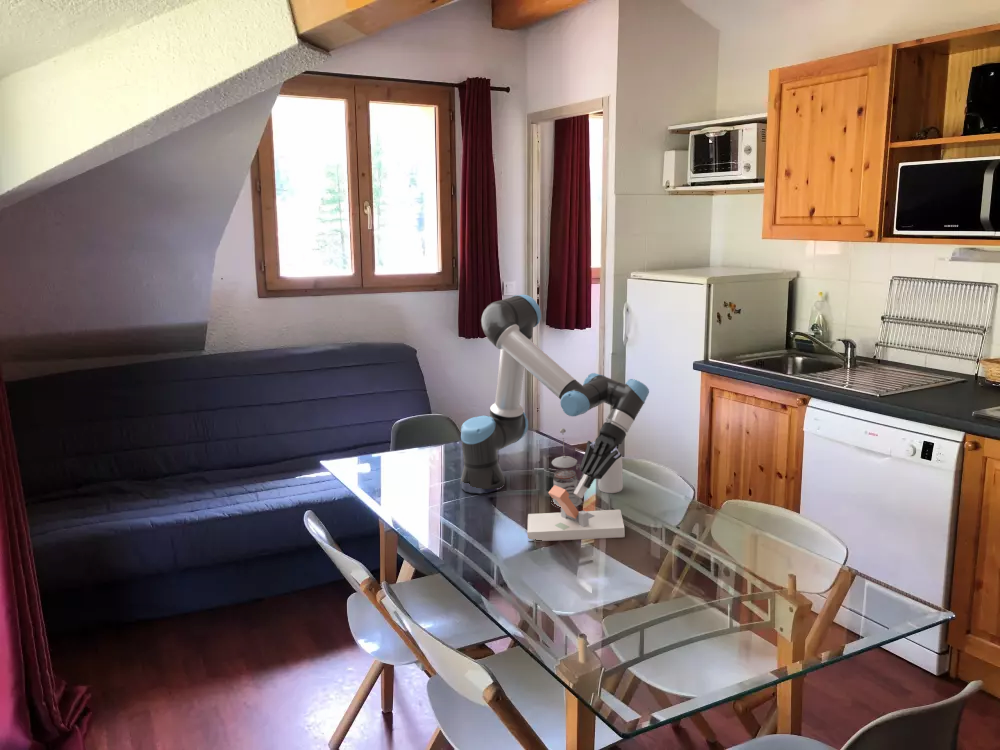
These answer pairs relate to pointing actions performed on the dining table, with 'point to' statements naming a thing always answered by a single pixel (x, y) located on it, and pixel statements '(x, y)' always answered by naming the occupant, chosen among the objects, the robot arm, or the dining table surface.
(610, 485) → the pill bottle
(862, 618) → the dining table surface
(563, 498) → the lever
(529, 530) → the white switch base plate
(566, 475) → the french press
